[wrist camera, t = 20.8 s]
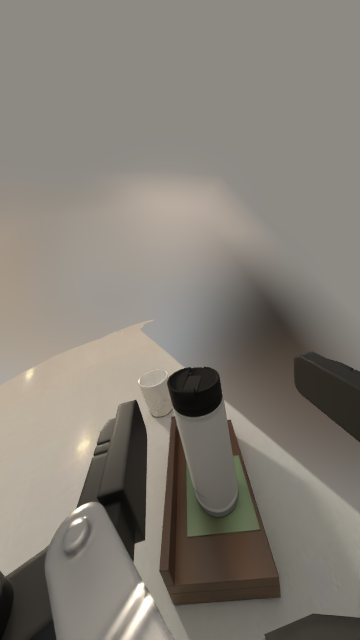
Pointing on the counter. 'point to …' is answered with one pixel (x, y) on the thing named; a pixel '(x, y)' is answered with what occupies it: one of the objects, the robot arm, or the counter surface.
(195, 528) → the wooden coaster base
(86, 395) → the counter surface
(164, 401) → the white cup
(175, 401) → the travel mug
